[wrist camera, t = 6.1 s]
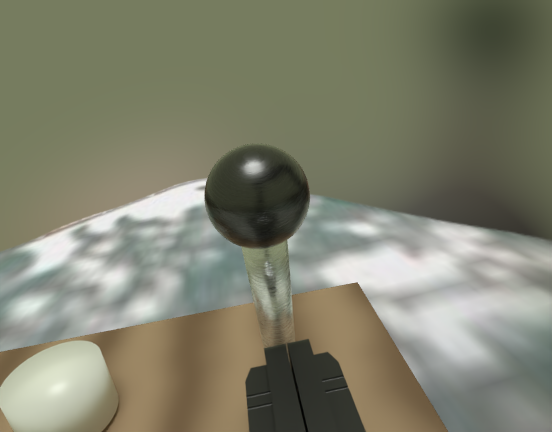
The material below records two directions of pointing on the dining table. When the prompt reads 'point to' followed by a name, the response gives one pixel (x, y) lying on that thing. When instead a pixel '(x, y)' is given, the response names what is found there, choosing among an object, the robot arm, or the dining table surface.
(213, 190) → the steel toggle lever
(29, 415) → the ivory push button
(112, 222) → the dining table surface
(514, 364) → the dining table surface
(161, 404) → the walnut switch board
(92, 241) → the dining table surface
